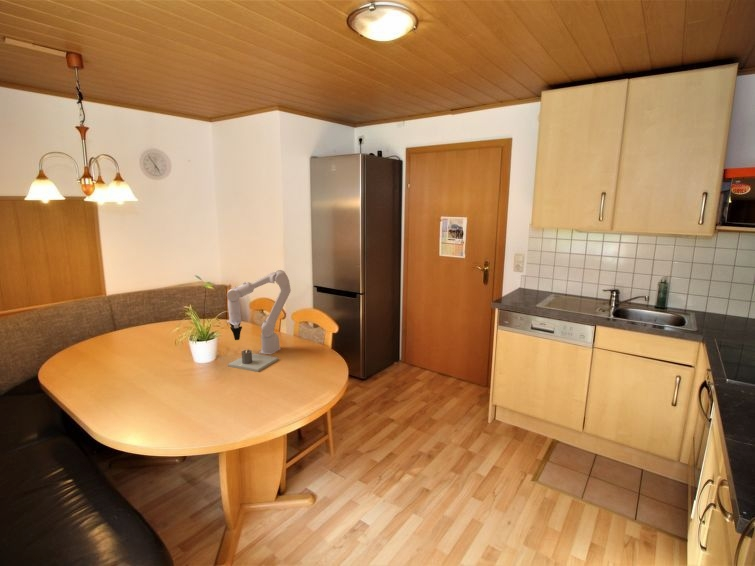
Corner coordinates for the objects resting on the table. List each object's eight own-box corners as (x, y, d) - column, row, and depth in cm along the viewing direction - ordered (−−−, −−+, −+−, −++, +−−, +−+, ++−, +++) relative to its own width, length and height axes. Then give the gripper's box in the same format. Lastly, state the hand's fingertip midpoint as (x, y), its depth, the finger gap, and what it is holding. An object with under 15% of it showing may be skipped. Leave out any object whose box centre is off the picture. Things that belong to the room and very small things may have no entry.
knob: (242, 360, 207) (241, 349, 206) (252, 359, 209) (251, 348, 207) (242, 364, 203) (241, 352, 202) (252, 363, 204) (251, 351, 203)
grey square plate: (249, 354, 218) (249, 347, 218) (278, 359, 211) (278, 351, 211) (228, 366, 204) (227, 358, 203) (257, 371, 197) (257, 363, 196)
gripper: (225, 309, 219) (227, 334, 222) (226, 316, 206) (229, 343, 209) (239, 308, 222) (241, 332, 225) (241, 315, 209) (244, 341, 212)
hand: (236, 337), depth 217 cm, fingers open, 7 cm apart
